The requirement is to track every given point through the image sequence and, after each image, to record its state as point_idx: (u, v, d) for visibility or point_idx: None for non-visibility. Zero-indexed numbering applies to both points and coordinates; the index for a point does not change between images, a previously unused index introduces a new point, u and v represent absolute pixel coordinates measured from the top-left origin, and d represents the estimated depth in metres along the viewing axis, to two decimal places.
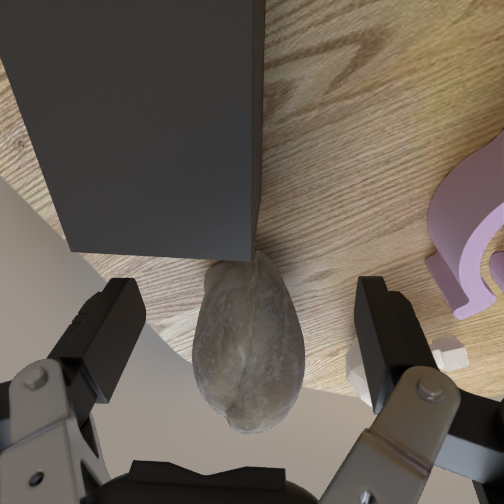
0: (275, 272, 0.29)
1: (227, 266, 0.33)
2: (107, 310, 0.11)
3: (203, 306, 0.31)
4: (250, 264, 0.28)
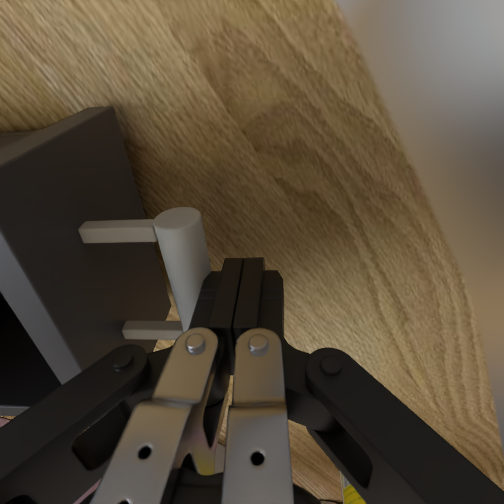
0: None
1: None
2: (235, 286, 0.11)
3: None
4: None
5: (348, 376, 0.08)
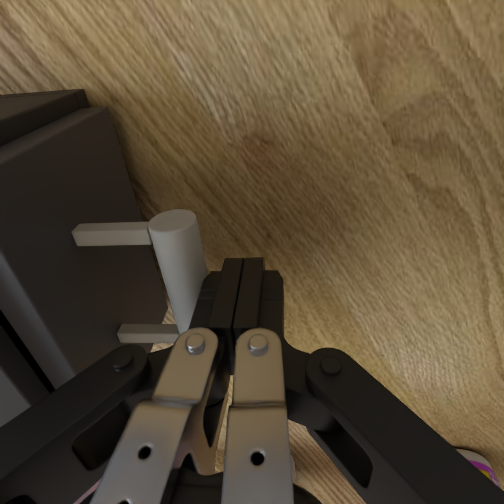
0: None
1: None
2: (235, 286, 0.11)
3: None
4: None
5: (348, 376, 0.08)
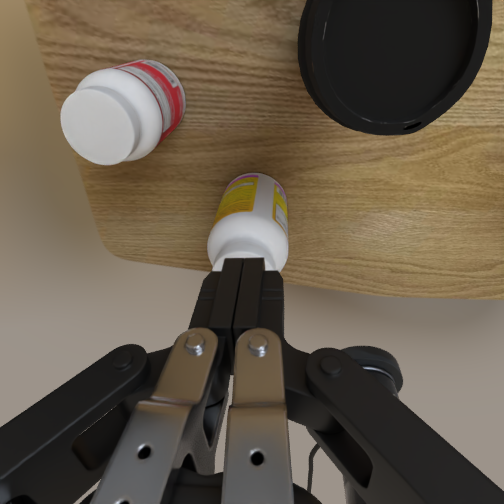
0: None
1: None
2: (235, 286, 0.11)
3: None
4: None
5: (348, 376, 0.08)
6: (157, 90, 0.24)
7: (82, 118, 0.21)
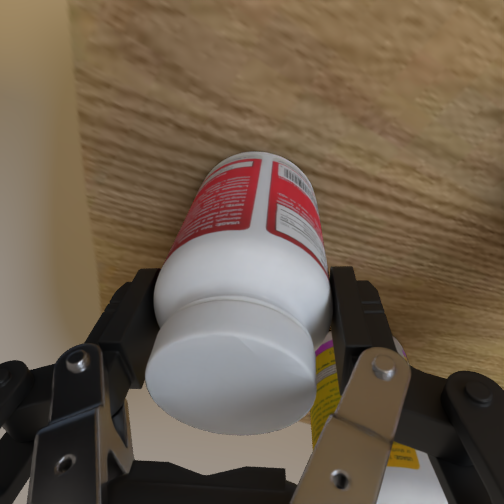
0: None
1: None
2: (139, 298, 0.11)
3: None
4: None
5: (502, 405, 0.07)
6: (326, 263, 0.12)
7: (203, 373, 0.09)
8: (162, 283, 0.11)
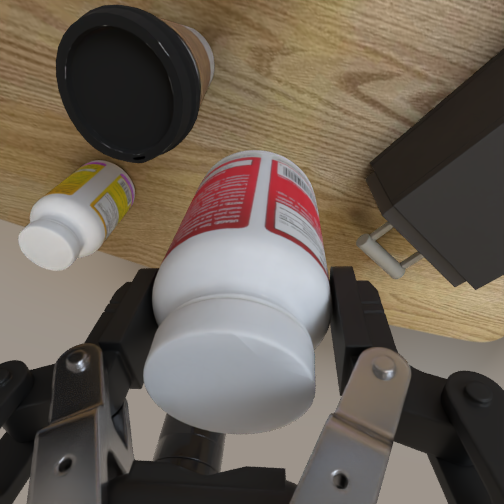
0: None
1: None
2: (139, 298, 0.11)
3: None
4: None
5: (501, 405, 0.07)
6: (325, 261, 0.12)
7: (201, 371, 0.09)
8: (160, 281, 0.11)
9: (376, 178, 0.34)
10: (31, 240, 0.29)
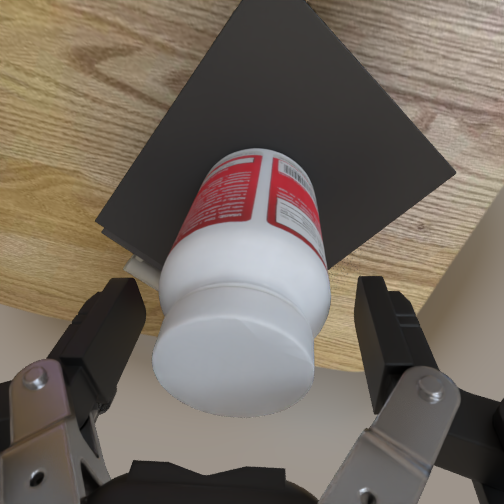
0: None
1: None
2: (107, 310, 0.11)
3: None
4: None
5: None
6: (324, 254, 0.13)
7: (207, 355, 0.09)
8: (167, 272, 0.11)
9: None
10: None
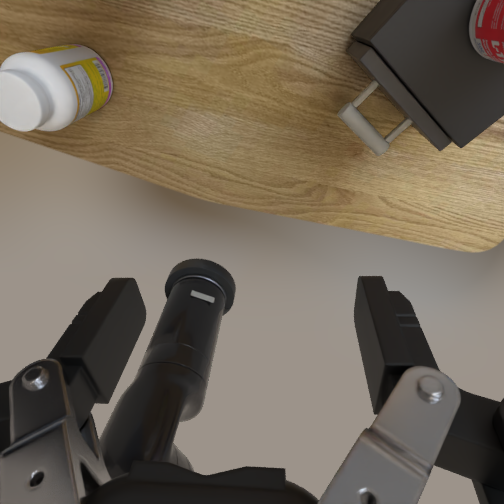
0: None
1: None
2: (107, 310, 0.11)
3: None
4: None
5: None
6: None
7: None
8: None
9: (356, 43, 0.32)
10: None
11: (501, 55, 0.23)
